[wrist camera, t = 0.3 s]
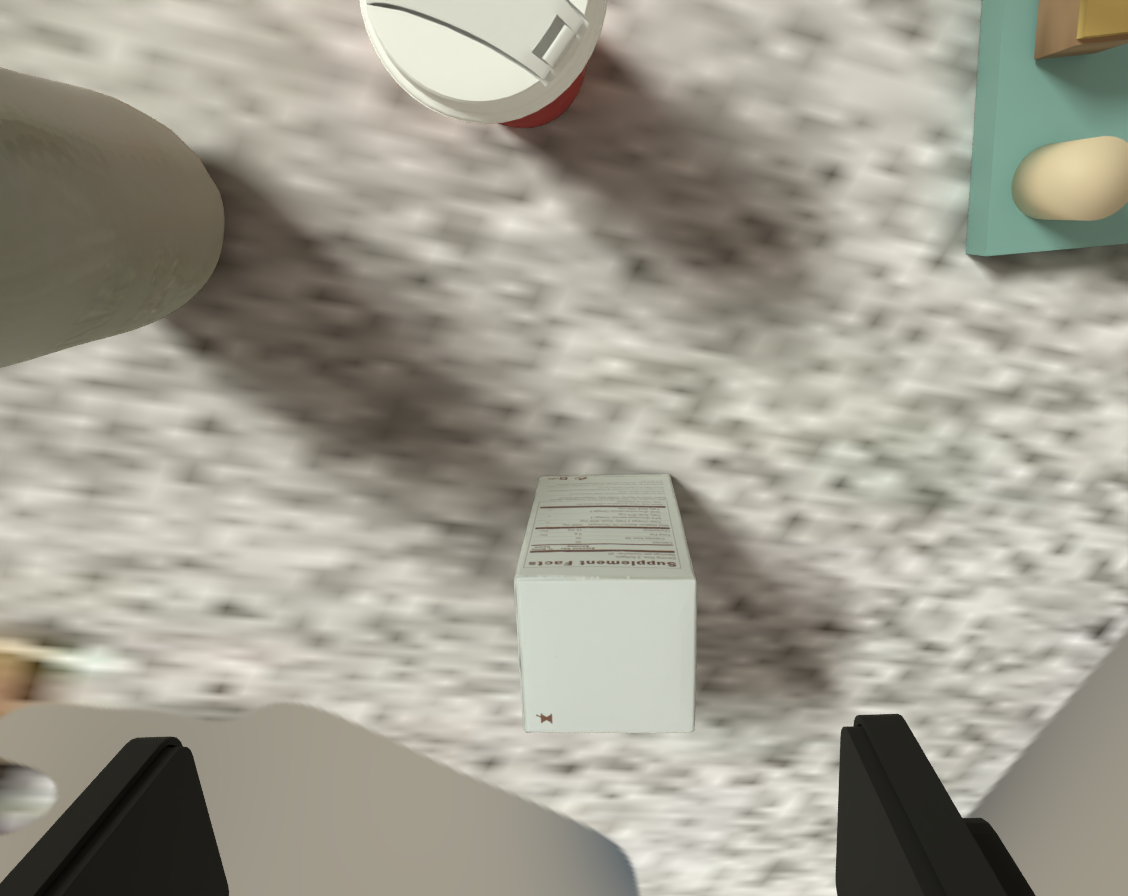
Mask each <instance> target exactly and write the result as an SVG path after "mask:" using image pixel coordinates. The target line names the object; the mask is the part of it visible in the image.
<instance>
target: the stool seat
mask: <svg viewBox="0 0 1128 896" xmlns="http://www.w3.org/2000/svg"><path fill="white" fill-rule="evenodd" d="M1038 5H1039V0H982V13H981V28H980V44H979V59H978V74H977V90H976V105H975V121H974V136H973V151H972V167H971V182H970V198H969V213H968V229H967V244H966V254H972V255H980V256H994V255H1005V254H1017V253H1028V252H1039V251H1051V250H1062V249H1073V248H1084V247H1096V246H1107V245H1118V244H1128V43H1126V44H1123V45H1120V46H1117V47H1114V48H1111V49H1107V50H1104V51H1101V52H1098V53H1093V54H1084V55H1074V56H1065V57H1056V58H1047V59H1037V60H1034V52H1035V40H1036V28H1037V16H1038Z"/></svg>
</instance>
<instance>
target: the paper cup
mask: <svg viewBox="0 0 1128 896" xmlns="http://www.w3.org/2000/svg"><path fill="white" fill-rule="evenodd" d="M606 7H607V0H360V8H361V12H362V16H363V20H364V23H365V27H366V30H367V33H368V35H369V38H370V40H371V43H372V45H373V47H374V50H375V51H376V53H377V55H378V56H379V58H380V60H381V62H382V63H383V65H384V67H385V68H386V69H387V71H388V72H389V73H390V74H391V76H392V77H393V78H394V79H395V81H396V82H397V83H398V84H399V85H400V86H401V87H402V88H403V89H404V90H405V91H406V92H407V93H408V94H409V95H410V96H412V97H413V98H414V99H416V100H417V101H419V102H420V103H421V104H423V105H424V106H426V107H427V108H429V109H431V110H433V111H435V112H437V113H439V114H441V115H444V116H446V117H449V118H452V119H456V120H459V121H463V122H469V123H478V124H493V123H499V124H503V125H507V126H511V127H517V128H531V127H537V126H541V125H544V124H547V123H549V122H551V121H552V120H554V119H556V118H557V117H559V116H560V115H561V114H562V113H563V112H564V111H565V110H566V109H567V108H568V107H569V106H570V105H571V103H572V102H573V100H574V99H575V97H576V96H577V94H578V92H579V89H580V87H581V84H582V81H583V78H584V75H585V70H586V65H587V62H588V60H589V58H590V57H591V55H592V53H593V51H594V48H595V46H596V43H597V41H598V38H599V36H600V34H601V30H602V26H603V22H604V18H605V14H606Z"/></svg>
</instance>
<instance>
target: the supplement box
mask: <svg viewBox="0 0 1128 896" xmlns="http://www.w3.org/2000/svg"><path fill="white" fill-rule="evenodd" d="M514 593H515V608H516V623H517V638H518V661H519V670H520V682H521V699H522V715H523V730H524V731H525V732H545V733H685V732H693V731H694V725H695V706H696V662H697V581H696V577H695V573H694V569H693V565H692V561H691V557H690V553H689V549H688V544H687V540H686V535H685V531H684V527H683V523H682V519H681V515H680V511H679V507H678V503H677V499H676V495H675V492H674V488H673V485H672V481H671V477H670V475H669V474H640V475H576V476H542V477H540V478H539V481H538V485H537V490H536V494H535V498H534V502H533V506H532V510H531V514H530V518H529V521H528V525H527V529H526V533H525V537H524V540H523V544H522V548H521V552H520V556H519V559H518V564H517V568H516V574H515V578H514Z"/></svg>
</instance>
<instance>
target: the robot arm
mask: <svg viewBox="0 0 1128 896" xmlns="http://www.w3.org/2000/svg"><path fill="white" fill-rule="evenodd" d="M836 889H837V896H1035V894H1034V892H1033V891H1032V889H1031V888H1030V886H1029V884H1028V883H1027V881H1026V880H1025V878H1024V876H1023V875H1022V873H1021V872H1020V870H1019V868H1018V867H1017V865H1016V864H1015V862H1014V861H1013V859H1012V857H1011V856H1010V854H1009V852H1008V851H1007V849H1006V848H1005V846H1004V844H1003V843H1002V841H1001V840H1000V838H999V836H998V835H997V833H996V832H995V831H994V829H993V828H992V827H991V826H990V824H989V823H988V822H986V821H985V820H983V819H982V818H962V817H961V815H960V814H959V812H958V810H957V808H956V807H955V805H954V803H953V802H952V800H951V798H950V796H949V795H948V793H947V791H946V790H945V788H944V786H943V784H942V783H941V781H940V779H939V778H938V776H937V774H936V772H935V771H934V769H933V767H932V766H931V764H930V762H929V761H928V759H927V757H926V755H925V754H924V752H923V750H922V749H921V747H920V745H919V743H918V742H917V740H916V738H915V737H914V735H913V733H912V731H911V730H910V728H909V726H908V725H907V723H906V721H905V720H904V718H903V717H902V716H901V715H899V714H880V715H858V716H856V717H855V720H854V727H843V728H842V730H841V742H840V770H839V798H838V826H837V854H836ZM0 896H229V890H228V884H227V880H226V876H225V873H224V869H223V866H222V861H221V858H220V854H219V850H218V847H217V843H216V839H215V836H214V832H213V828H212V825H211V821H210V817H209V814H208V810H207V807H206V803H205V799H204V795H203V791H202V788H201V784H200V781H199V777H198V773H197V770H196V766H195V762H194V759H193V755H192V752H191V750H190V749H189V748H187V747H183V746H182V744H181V742H180V741H179V740H178V739H177V738H175V737H145V738H135V739H132V740H131V741H130V742H128V743H127V744H126V745H125V746H124V747H123V748H122V749H121V750H120V751H119V753H118V754H117V755H116V756H115V757H114V758H113V759H112V760H111V761H110V763H109V764H108V765H107V766H106V767H105V768H104V769H103V770H102V771H101V772H100V774H99V775H98V776H97V777H96V778H95V779H94V780H93V781H92V782H91V784H90V785H89V786H88V787H87V788H86V789H85V790H84V791H83V792H82V794H81V795H80V796H79V797H78V798H77V799H76V800H75V801H74V802H73V804H72V805H71V806H70V807H69V808H68V809H67V810H66V811H65V813H64V814H63V815H62V816H61V817H60V818H59V819H58V820H57V821H56V822H55V824H54V825H53V826H52V827H51V828H50V829H49V830H48V831H47V832H46V833H45V835H44V836H43V837H42V838H41V839H40V840H39V841H38V842H37V843H36V845H35V846H34V847H33V848H32V849H31V850H30V851H29V852H28V853H27V854H26V856H25V857H24V858H23V859H22V860H21V861H20V862H19V863H18V864H17V866H16V867H15V868H14V869H13V870H12V871H11V872H10V873H9V874H8V876H7V877H6V878H5V879H4V880H3V881H2V882H1V883H0Z"/></svg>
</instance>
